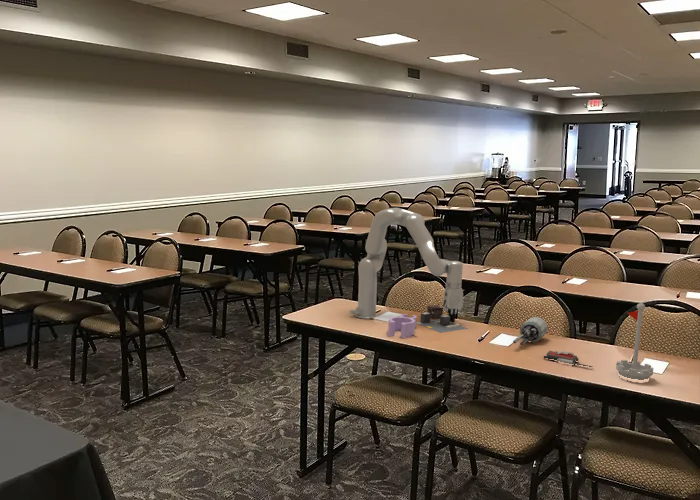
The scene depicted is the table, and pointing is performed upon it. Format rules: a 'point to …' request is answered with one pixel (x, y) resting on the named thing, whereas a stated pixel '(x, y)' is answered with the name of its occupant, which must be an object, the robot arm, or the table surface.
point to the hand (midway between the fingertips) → (451, 321)
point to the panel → (441, 326)
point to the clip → (402, 325)
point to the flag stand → (635, 353)
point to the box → (435, 311)
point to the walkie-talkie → (563, 357)
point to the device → (532, 330)
